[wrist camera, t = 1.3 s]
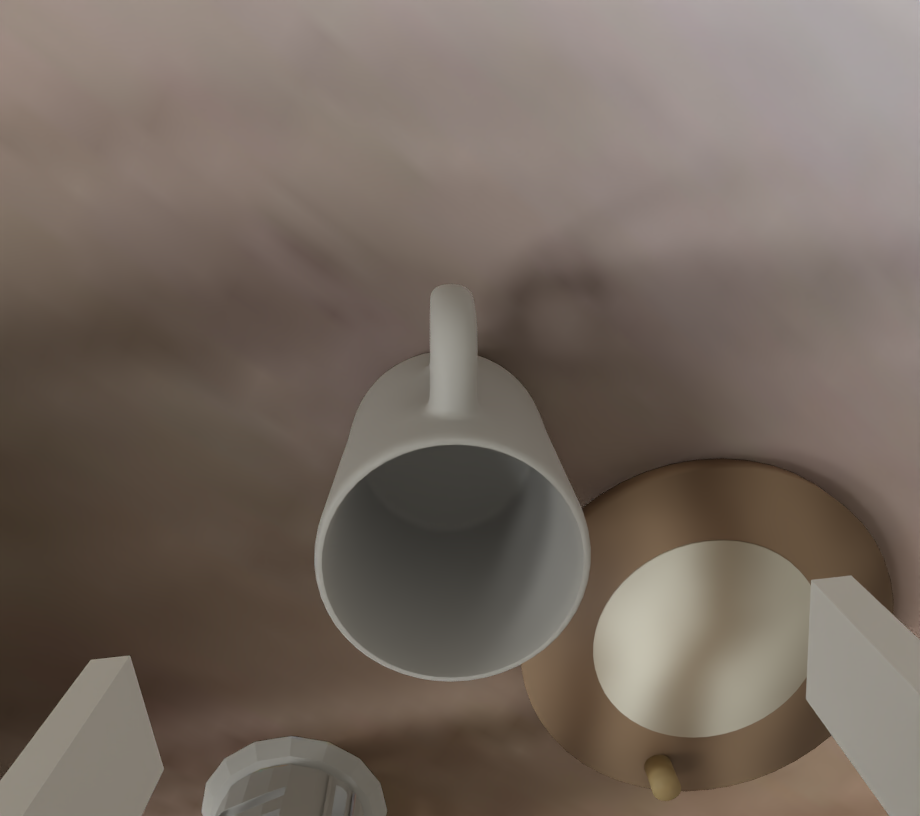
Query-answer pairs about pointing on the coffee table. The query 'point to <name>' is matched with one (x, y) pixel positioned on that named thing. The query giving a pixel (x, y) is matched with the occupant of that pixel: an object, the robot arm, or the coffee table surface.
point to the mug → (451, 516)
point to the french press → (293, 782)
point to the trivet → (698, 625)
